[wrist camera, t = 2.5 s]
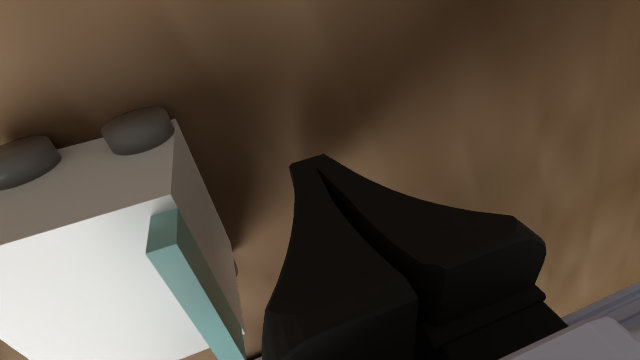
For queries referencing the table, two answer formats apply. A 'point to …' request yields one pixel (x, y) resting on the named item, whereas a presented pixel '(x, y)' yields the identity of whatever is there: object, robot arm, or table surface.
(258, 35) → the table surface
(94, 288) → the white box with knobs
